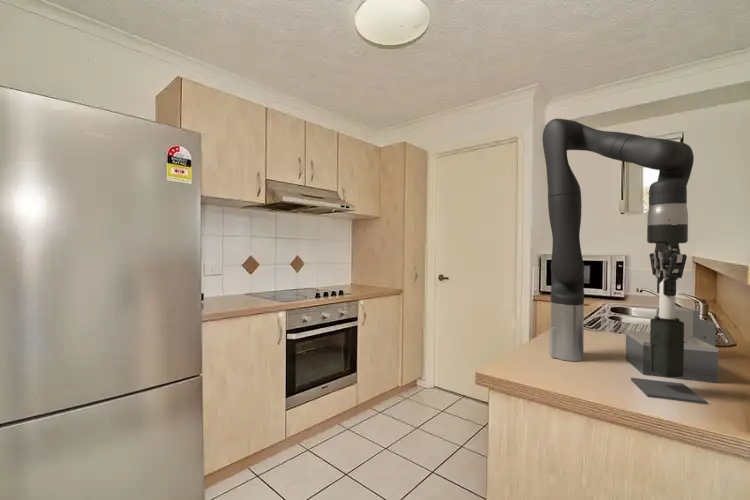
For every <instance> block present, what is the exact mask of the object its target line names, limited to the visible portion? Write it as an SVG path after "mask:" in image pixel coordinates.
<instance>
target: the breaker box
mask: <svg viewBox="0 0 750 500" xmlns="http://www.w3.org/2000/svg"><path fill="white" fill-rule="evenodd" d="M625 360H626V361H627V362H628V363H629V364H630V365H631V366H632V367H633V368H635V369H636V370H637V371H638V372H639V373H640V374H641V375H644V376H650V377H657V378H670V379H677V380H678V379H679V380H687V381H695V382H696V381H697V382H704V383H705V382H706V383H712V384H713V383H714V384H719V347H716V346H715V347H714V346H712V345H710V344H708V343H706V342H703V341H701V340H699V339H697V338H695V337H693V336H690V335H684V371H683V377H666V376H663V375H661V374H658V373H656V372H653V371H651V370H650V331H649V332H648V331H647V332H645V331H637V330H634V331H633V330H625Z"/></svg>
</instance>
